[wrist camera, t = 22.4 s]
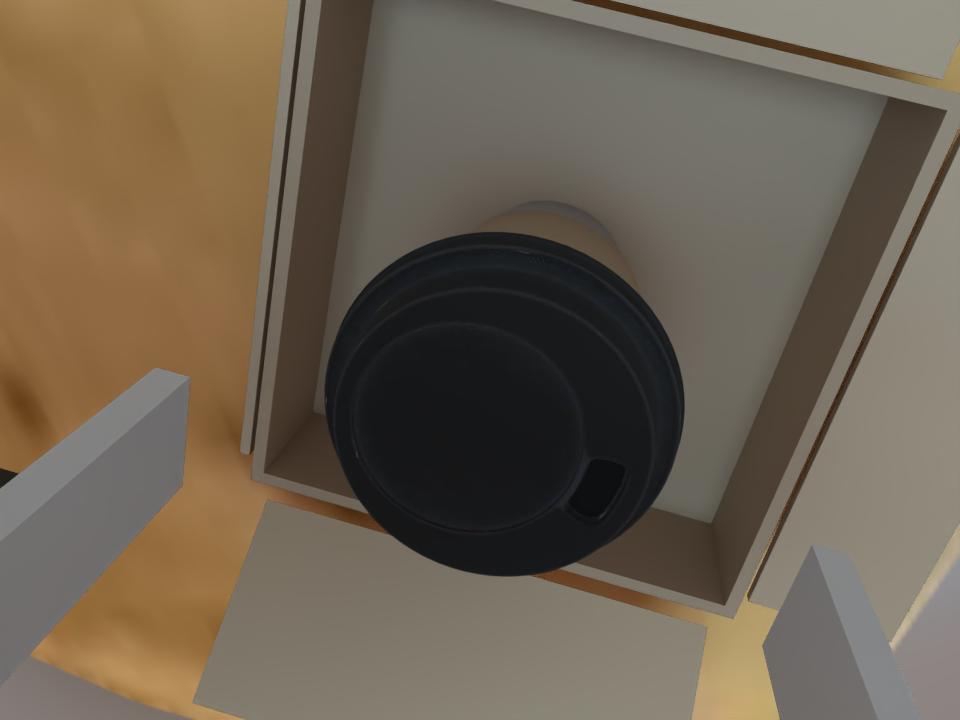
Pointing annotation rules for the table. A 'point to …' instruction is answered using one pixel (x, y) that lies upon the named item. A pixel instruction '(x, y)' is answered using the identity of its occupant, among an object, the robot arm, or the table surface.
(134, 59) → the table surface
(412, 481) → the coffee cup
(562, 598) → the flap
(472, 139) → the carton
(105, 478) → the robot arm
